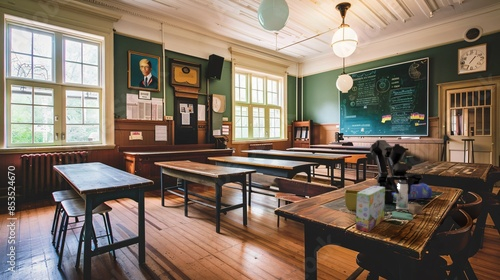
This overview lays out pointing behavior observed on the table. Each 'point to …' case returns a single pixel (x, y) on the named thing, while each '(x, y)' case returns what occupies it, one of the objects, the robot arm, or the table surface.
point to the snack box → (370, 208)
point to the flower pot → (351, 199)
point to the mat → (402, 215)
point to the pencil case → (418, 191)
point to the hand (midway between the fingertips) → (403, 193)
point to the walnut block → (415, 208)
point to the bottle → (402, 194)
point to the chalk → (402, 208)
